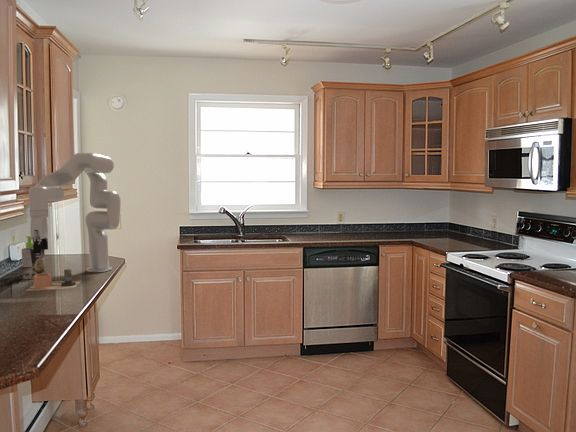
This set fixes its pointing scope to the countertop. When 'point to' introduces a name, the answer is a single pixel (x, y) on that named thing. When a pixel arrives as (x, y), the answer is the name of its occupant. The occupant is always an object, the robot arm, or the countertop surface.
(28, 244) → the soap dispenser
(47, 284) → the collar
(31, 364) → the countertop surface
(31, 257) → the coffee box
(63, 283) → the post board
